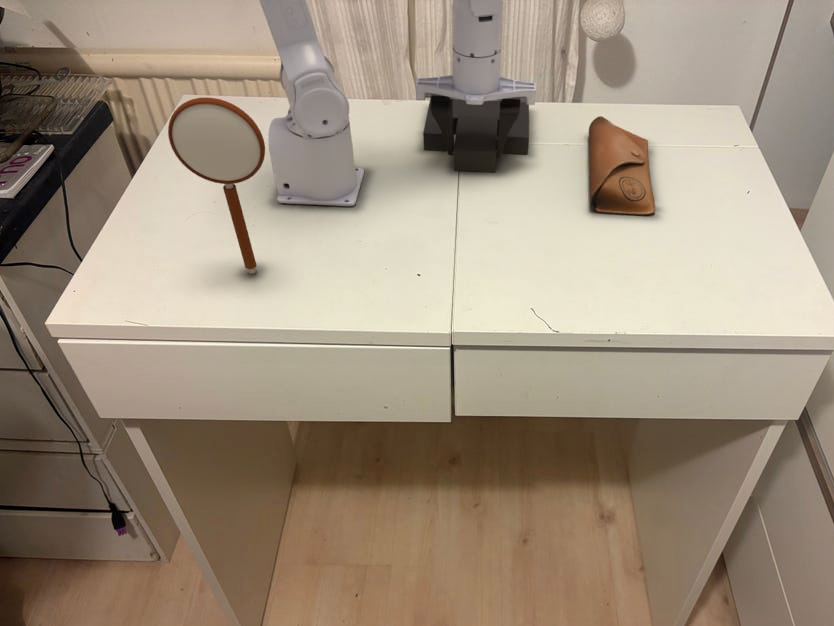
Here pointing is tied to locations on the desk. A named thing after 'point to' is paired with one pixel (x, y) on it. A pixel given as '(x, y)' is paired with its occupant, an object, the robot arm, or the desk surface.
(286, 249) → the desk surface
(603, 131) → the sunglasses case
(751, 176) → the desk surface
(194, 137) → the magnifying glass
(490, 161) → the black rectangular block
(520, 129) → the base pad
